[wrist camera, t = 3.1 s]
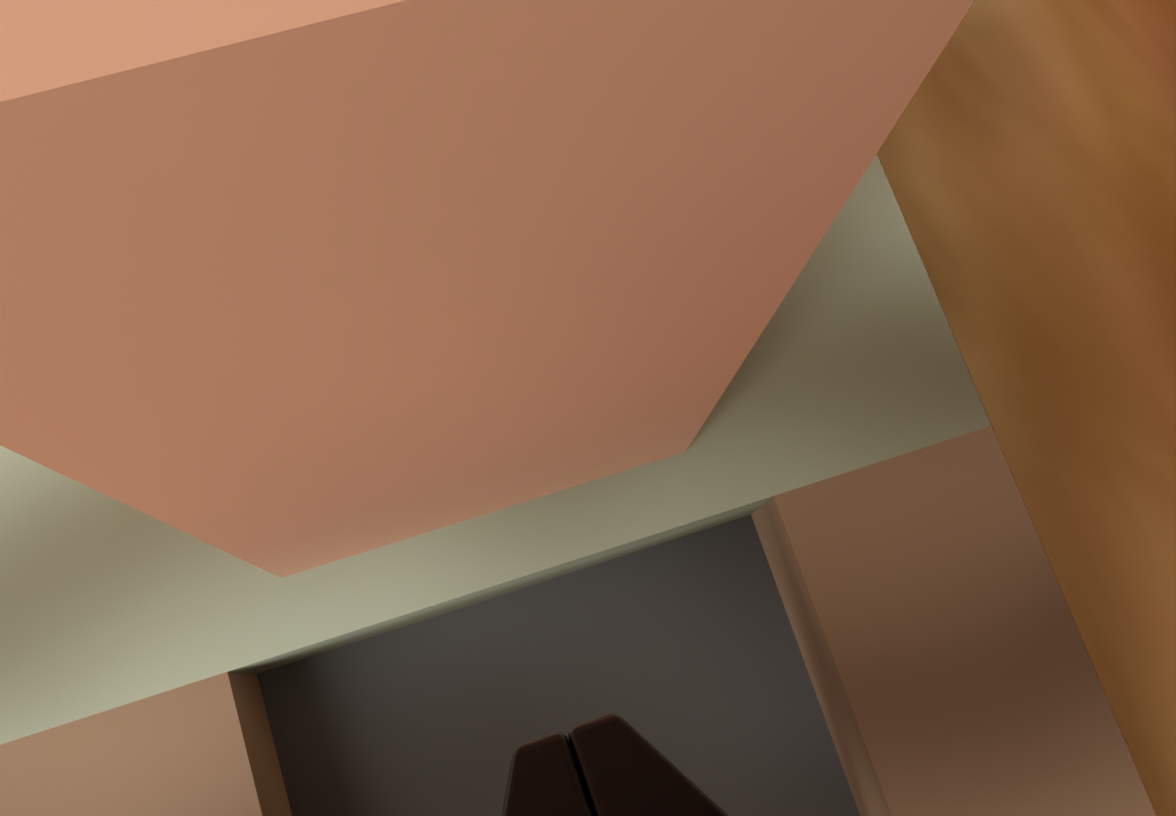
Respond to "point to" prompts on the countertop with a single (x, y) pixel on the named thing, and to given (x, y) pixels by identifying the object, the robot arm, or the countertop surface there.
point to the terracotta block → (410, 241)
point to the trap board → (600, 613)
